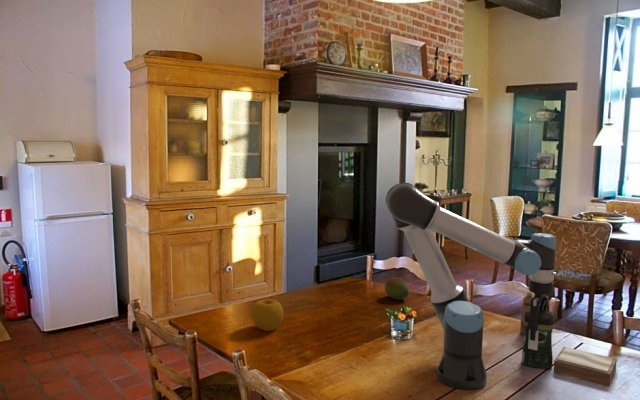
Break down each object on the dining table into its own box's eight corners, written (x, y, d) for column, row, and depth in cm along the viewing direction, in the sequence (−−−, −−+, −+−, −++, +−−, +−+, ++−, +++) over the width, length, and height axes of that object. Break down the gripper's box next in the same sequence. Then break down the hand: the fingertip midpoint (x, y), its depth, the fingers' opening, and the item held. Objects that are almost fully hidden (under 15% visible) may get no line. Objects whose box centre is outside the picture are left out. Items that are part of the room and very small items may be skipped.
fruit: (395, 293, 250) (396, 273, 249) (415, 299, 241) (416, 279, 240) (379, 297, 243) (379, 277, 242) (399, 304, 233) (399, 283, 232)
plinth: (609, 386, 155) (610, 373, 155) (553, 372, 165) (554, 359, 164) (615, 370, 166) (616, 357, 166) (563, 357, 176) (563, 345, 176)
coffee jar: (551, 361, 173) (555, 309, 171) (552, 371, 165) (556, 316, 163) (521, 357, 176) (524, 305, 174) (520, 366, 169) (523, 312, 167)
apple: (246, 332, 197) (246, 304, 196) (258, 321, 210) (258, 294, 209) (277, 335, 194) (277, 307, 193) (287, 324, 207) (287, 297, 206)
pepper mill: (532, 337, 194) (534, 295, 192) (518, 334, 197) (520, 292, 195) (536, 333, 198) (538, 292, 196) (522, 330, 201) (524, 289, 199)
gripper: (544, 290, 156) (540, 357, 158) (561, 274, 175) (558, 335, 177) (519, 286, 160) (515, 351, 163) (538, 271, 179) (535, 330, 182)
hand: (537, 343), depth 170 cm, fingers open, 12 cm apart
